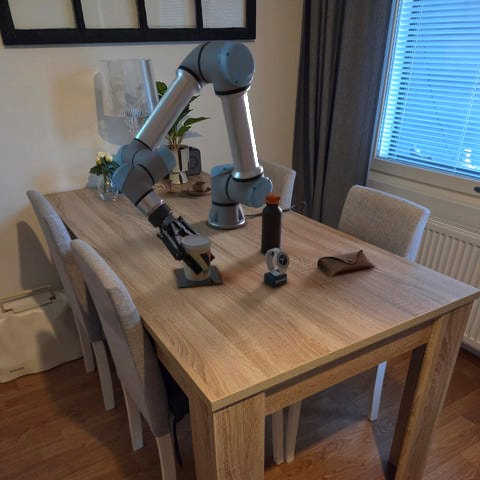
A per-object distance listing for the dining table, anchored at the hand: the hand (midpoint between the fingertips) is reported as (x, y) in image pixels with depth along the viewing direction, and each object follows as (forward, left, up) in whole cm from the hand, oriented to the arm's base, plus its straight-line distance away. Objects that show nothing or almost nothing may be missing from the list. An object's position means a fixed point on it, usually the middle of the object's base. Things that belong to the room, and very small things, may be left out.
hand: (206, 266), depth 137 cm
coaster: (+3, -2, -4) cm, 5 cm away
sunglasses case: (-46, +1, -4) cm, 47 cm away
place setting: (-7, -97, -4) cm, 97 cm away
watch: (-20, +7, -4) cm, 22 cm away
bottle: (-25, -17, -4) cm, 31 cm away
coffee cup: (+3, -2, -4) cm, 5 cm away
